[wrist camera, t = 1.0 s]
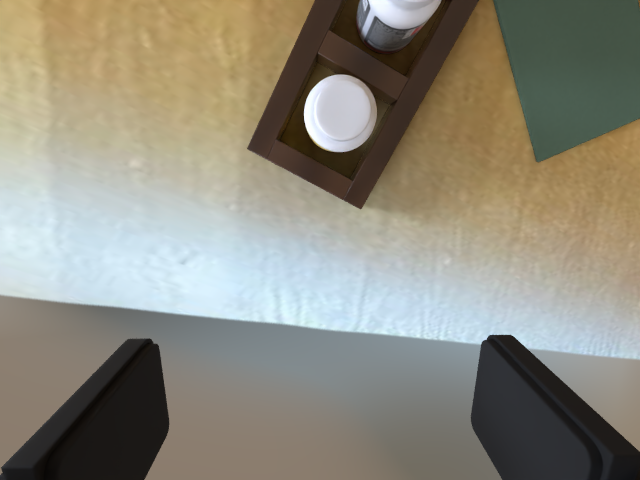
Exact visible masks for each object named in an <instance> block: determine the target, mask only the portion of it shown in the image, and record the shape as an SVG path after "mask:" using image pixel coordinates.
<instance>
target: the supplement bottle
mask: <svg viewBox="0 0 640 480" xmlns="http://www.w3.org/2000/svg"><path fill="white" fill-rule="evenodd" d="M376 118H377V107H376V102H375V99H374V96H373V94H372V92H371V91H370V89H369V88H368V87H367V86H366V85H365V84H364V83H363V82H362V81H360V80H359V79H357V78H355V77H353V76H349V75H342V74H340V75H333V76H329V77H327V78H325V79H323V80H321V81H320V82H319V83H318V84H317V85H316V86H315V87H314V88H313V89H312V90H311V92H310V93H309V95H308V98H307V100H306V103H305V109H304V121H305V126H306V129H307V132H308V134H309V136H310V138H311V139H312V141H313V142H314V143H315V144H316V145H317V146H319V147H320V148H322V149H324V150H326V151H331V152H346V151H350V150H353V149H355V148H357V147H359V146H360V145H362V144H363V143H364V142H365V141H366V140H367V139H368V137H369V136H370V135H371V133H372V131H373V129H374V126H375V123H376Z"/></svg>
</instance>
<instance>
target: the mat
mask: <svg viewBox="0 0 640 480" xmlns="http://www.w3.org/2000/svg"><path fill="white" fill-rule="evenodd" d="M493 1H494V5H495V9H496V13H497V16H498V20H499V24H500V27H501V31H502V35H503V39H504V42H505V46H506V50H507V53H508V57H509V61H510V65H511V68H512V72H513V76H514V79H515V83H516V87H517V91H518V94H519V98H520V102H521V105H522V109H523V113H524V117H525V120H526V124H527V128H528V131H529V135H530V139H531V143H532V146H533V150H534V154H535V157H536V161H537V162H540V161H543V160H545V159H547V158H549V157H552V156H554V155H556V154H559V153H561V152H563V151H566V150H568V149H570V148H573V147H575V146H577V145H579V144H582V143H584V142H586V141H589V140H591V139H593V138H596V137H598V136H600V135H602V134H605V133H607V132H609V131H612V130H614V129H616V128H619V127H621V126H623V125H626V124H628V123H630V122H632V121H635V120H637V119H639V118H640V8H639V2H638V0H493Z"/></svg>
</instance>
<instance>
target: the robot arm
mask: <svg viewBox="0 0 640 480" xmlns="http://www.w3.org/2000/svg"><path fill="white" fill-rule="evenodd" d="M471 422H472V426H473V429H474V431H475V433H476V435H477V436H478V438H479V440H480V442H481V444H482V445H483V447H484V449H485V450H486V452H487V454H488V456H489V457H490V459H491V461H492V462H493V464H494V466H495V467H496V469H497V471H498V473H499V474H500V476H501V478H502V480H640V452H639V451H638V450H637V449H636V448H635V447H634V446H633V445H632V444H631V443H629V442H628V441H627V440H626V439H625V438H624V437H623V436H622V435H621V434H620V433H618V432H617V431H616V430H615V429H614V428H613V427H612V426H611V425H610V424H609V423H607V422H606V421H605V420H604V419H603V418H602V417H601V416H600V415H599V414H598V413H597V412H596V411H594V410H593V409H592V408H591V407H590V406H589V405H588V404H587V403H586V402H585V401H583V400H582V399H581V398H580V397H579V396H578V395H577V394H576V393H575V392H573V390H571V389H570V388H569V387H568V386H567V385H566V384H565V383H564V382H563V381H562V380H560V379H559V378H558V377H557V376H556V375H555V374H554V373H553V372H552V371H550V370H549V369H548V368H547V367H546V366H545V365H544V364H543V363H542V362H541V361H540V360H539V359H538V358H536V357H535V356H534V355H533V354H532V353H531V352H530V351H529V350H528V349H527V348H525V347H524V346H523V345H522V344H521V343H520V342H519V341H518V340H517V339H516V338H515V337H513V336H512V335H490V336H488V338H487V340H484V341H483V342H482V344H481V351H480V358H479V364H478V371H477V379H476V385H475V392H474V399H473V406H472V413H471ZM168 429H169V417H168V409H167V401H166V394H165V387H164V380H163V373H162V365H161V357H160V351H159V346H158V345H157V344H153V341H152V340H151V339H128V340H127V341H125V342H124V343H123V344H122V345H121V346H120V347H119V348H118V349H117V350H116V351H115V352H114V354H113V355H111V356H110V358H108V360H107V361H106V362H105V363H104V364H103V365H102V366H101V367H100V368H99V369H98V370H97V371H96V372H95V373H94V374H93V375H92V376H91V377H90V378H89V379H88V380H87V381H86V382H85V383H84V384H83V385H82V386H81V387H80V388H79V389H78V390H77V391H76V392H75V393H74V394H73V395H72V396H71V397H70V398H69V399H68V400H67V401H66V402H65V403H64V404H63V405H62V406H61V407H60V408H59V409H58V410H57V411H56V412H55V414H53V415H52V417H51V418H50V419H49V420H48V421H47V422H46V423H45V424H44V425H43V426H42V427H41V428H40V429H39V430H38V431H37V432H36V433H35V434H34V435H33V436H32V437H31V438H30V439H29V440H28V441H27V442H26V443H25V444H24V445H23V446H22V447H21V448H20V449H19V450H18V451H17V452H16V453H15V454H14V455H13V456H12V457H11V458H10V459H9V460H8V461H7V462H6V463H5V464H4V465H3V466H2V467H1V468H2V472H3V473H2V474H1V475H0V480H144V479H145V477H146V475H147V473H148V471H149V469H150V467H151V466H152V464H153V462H154V460H155V458H156V456H157V454H158V452H159V450H160V448H161V446H162V444H163V442H164V440H165V438H166V436H167V433H168Z"/></svg>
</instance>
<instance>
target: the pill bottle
mask: <svg viewBox="0 0 640 480" xmlns="http://www.w3.org/2000/svg"><path fill="white" fill-rule="evenodd" d="M441 1H442V0H360V2H359V5H358V9H357V14H356V26H357V30H358V33H359V36H360V38H361V40H362V41H363V43H364V44H365V45H366V46H367V47H368V48H369V49H371V50H373V51H375V52H377V53H381V54H391V53H395V52H397V51H399V50H401V49H403V48H404V47H405V46H407V45H408V44H409V43H410V42H411V41H412V39H413V38H414V37H415V36H416V34H417V33H418V32H419V31H420V29H421V28H422V27H423V26H424V25H425V24H426V22H427V21H428V20H429V19H430V17H431V16H432V15H433V14H434V12H435V11H436V10H437V8H438V6H439V5H440V3H441Z"/></svg>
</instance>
